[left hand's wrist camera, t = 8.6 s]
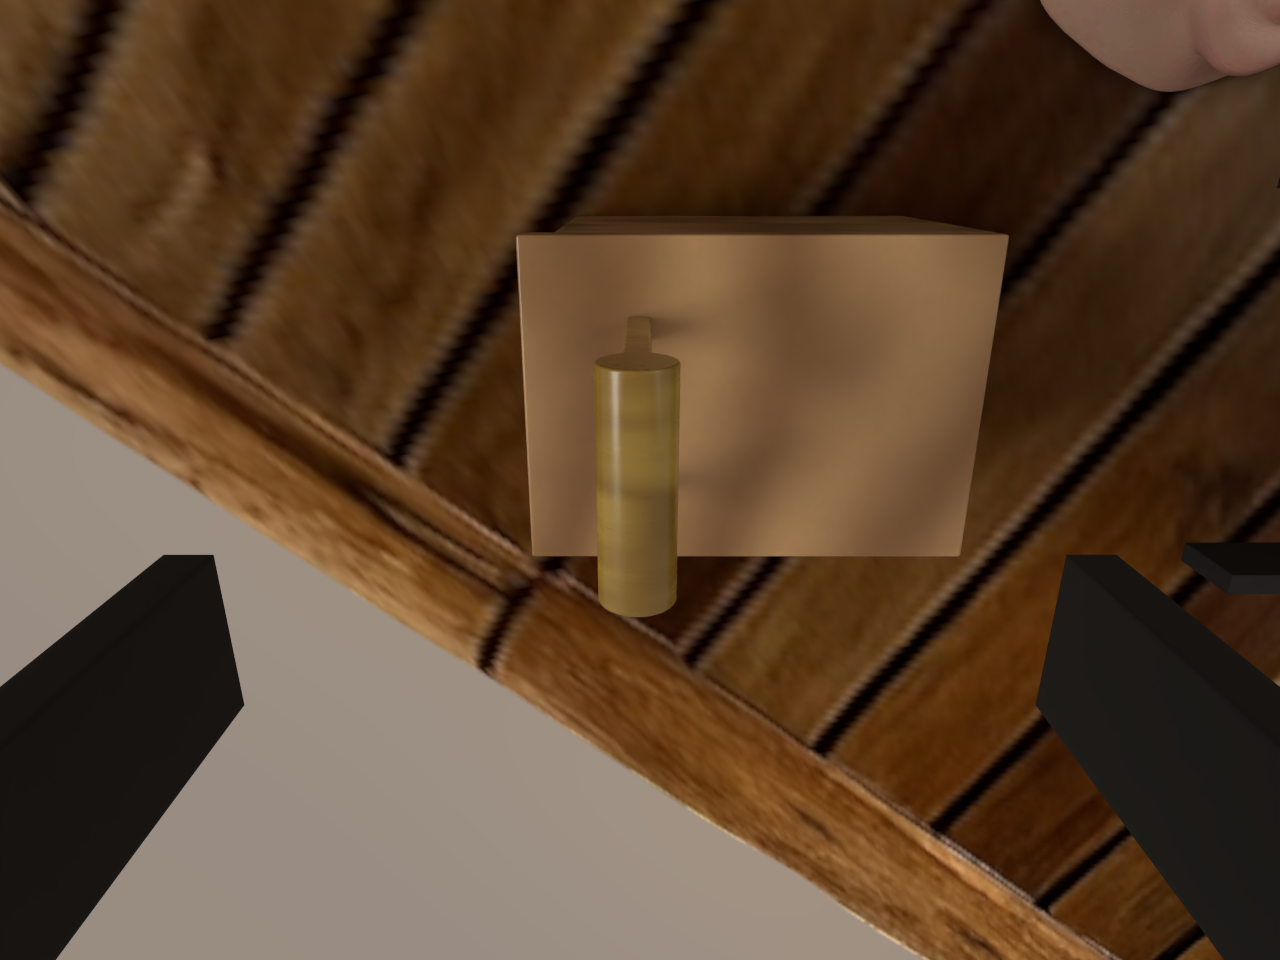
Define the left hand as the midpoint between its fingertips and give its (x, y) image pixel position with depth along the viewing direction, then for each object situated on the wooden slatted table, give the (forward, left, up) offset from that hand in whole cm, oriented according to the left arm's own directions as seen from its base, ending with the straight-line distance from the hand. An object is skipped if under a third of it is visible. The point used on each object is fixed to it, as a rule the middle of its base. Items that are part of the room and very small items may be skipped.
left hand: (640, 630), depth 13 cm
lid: (-2, +3, -14) cm, 14 cm away
